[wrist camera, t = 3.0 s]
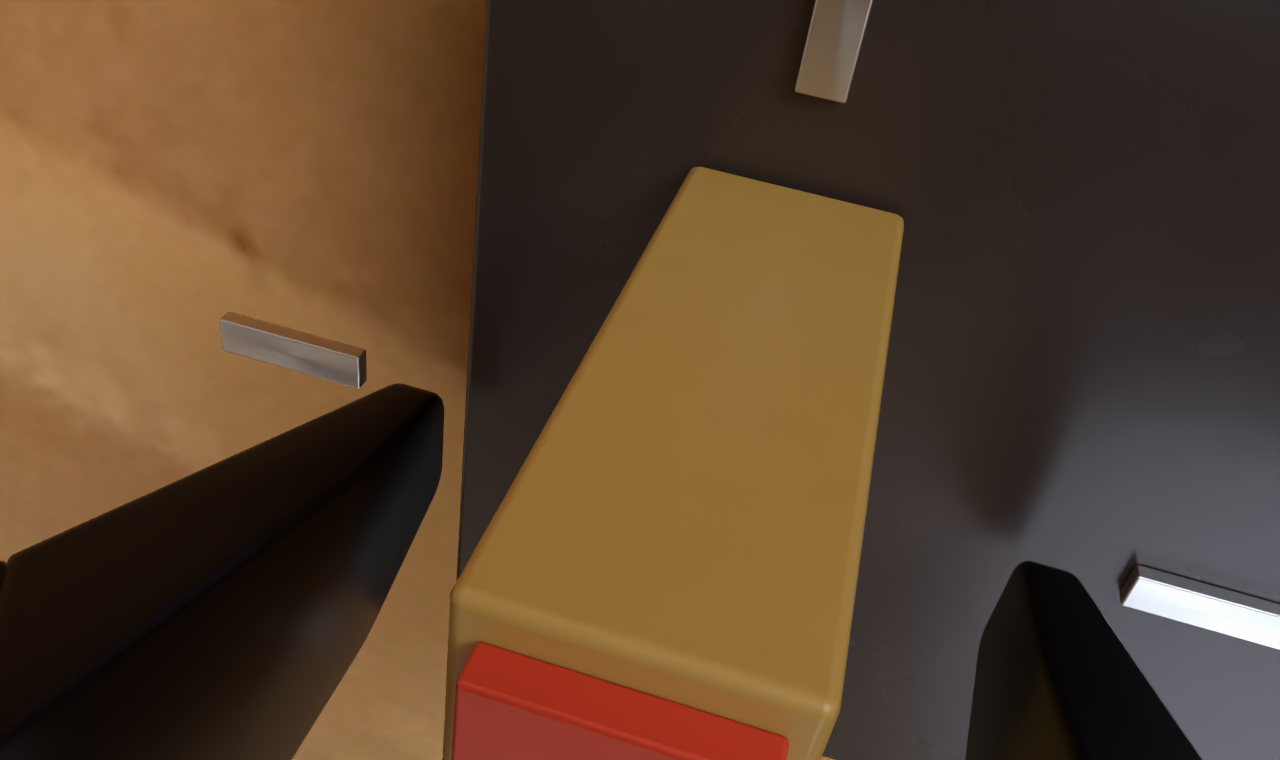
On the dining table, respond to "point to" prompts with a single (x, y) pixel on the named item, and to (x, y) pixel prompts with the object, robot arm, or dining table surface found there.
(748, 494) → the lock turn
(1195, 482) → the plate
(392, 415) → the robot arm
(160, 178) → the dining table surface
